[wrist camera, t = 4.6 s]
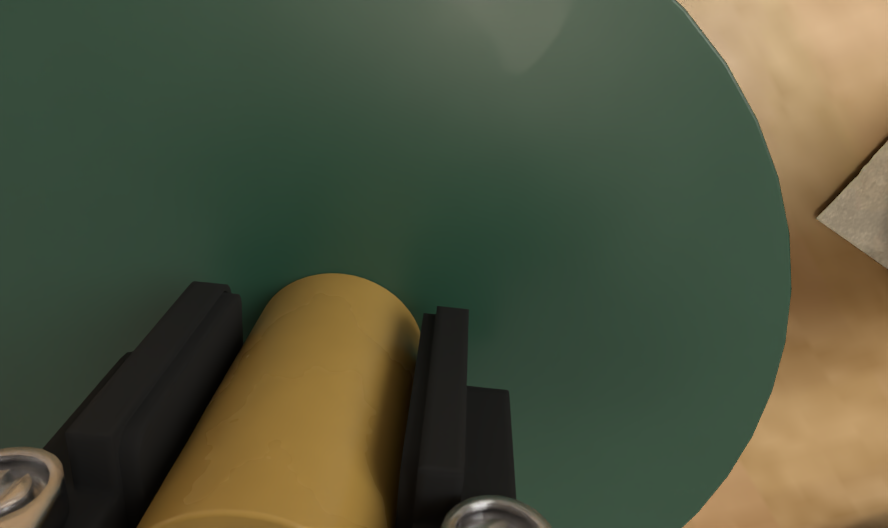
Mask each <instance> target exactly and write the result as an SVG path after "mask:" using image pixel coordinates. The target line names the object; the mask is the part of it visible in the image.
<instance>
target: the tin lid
mask: <svg viewBox="0 0 888 528" xmlns="http://www.w3.org/2000/svg"><path fill="white" fill-rule="evenodd" d="M193 281H199V282H209V283H218V284H228V285H229V287H230V289H231V293H233V294H239V295H240V297H241V301H242V324H243V346H242V348H241V349H240V351H239V353H238V355H237V356H236V358H235V360H234V361H233V363H232V365H231V366H230V368H229V370H228V372H227V373H226V375H225V377H224V378H223V380H222V382H221V384H220V385H219V387H218V389H217V390H216V392H215V394H214V396H213V397H212V399H211V401H210V402H209V404H208V406H207V407H206V409H205V411H204V413H203V414H202V416H201V418H200V419H199V421H198V423H197V425H196V426H195V428H194V430H193V431H192V433H191V435H190V437H189V438H188V440H187V442H186V443H185V445H184V447H183V448H182V450H181V452H180V454H179V455H178V457H177V459H176V460H175V462H174V464H173V466H172V467H171V469H170V471H169V472H168V474H167V476H166V478H165V479H164V481H163V483H162V484H161V486H160V488H159V489H158V491H157V493H156V495H155V496H154V498H153V500H152V501H151V503H150V505H149V507H148V508H147V510H146V512H145V513H144V515H143V517H142V519H141V520H140V522H139V524H138V525H137V527H136V528H395V524H396V512H397V500H398V488H399V477H400V468H401V460H402V452H403V445H404V439H405V432H406V426H407V419H408V412H409V406H410V399H411V392H412V386H413V379H414V373H415V366H416V359H417V353H418V346H419V339H420V333H421V326H422V320H423V313H429V314H436V311H437V306H443V307H453V308H463V309H469V325H468V361H467V386H475V387H485V388H494V389H504V390H508V391H509V396H510V410H511V425H512V440H513V455H514V470H515V485H516V500H519V501H522V502H523V503H525V504H527V505H529V506H531V507H532V508H534V509H536V510H537V511H538V512H539V513H540V514H541V515H542V516H543V517H544V518H545V519H546V520H548V522H549V524H550V525H551V527H552V528H682V527H683V526H684V525H685V524H686V523H687V522H688V521H689V520H691V519H692V518H693V517H694V516H695V515H696V514H697V513H698V512H699V511H700V509H701V508H702V507H703V506H704V505H705V503H706V502H707V501H708V500H709V498H710V497H711V496H712V495H713V494H714V492H715V491H716V490H717V489H718V487H719V486H720V485H721V484H722V482H723V481H724V480H725V479H726V478H727V476H728V475H729V473H730V472H731V470H732V468H733V467H734V465H735V463H736V462H737V460H738V459H739V457H740V455H741V454H742V452H743V450H744V449H745V447H746V446H747V444H748V442H749V441H750V439H751V437H752V436H753V433H754V431H755V429H756V427H757V424H758V422H759V420H760V417H761V415H762V413H763V411H764V408H765V406H766V404H767V401H768V399H769V397H770V394H771V392H772V389H773V386H774V382H775V378H776V375H777V371H778V367H779V363H780V360H781V356H782V352H783V349H784V345H785V340H786V332H787V323H788V314H789V306H790V297H791V265H790V239H789V230H788V225H787V219H786V214H785V209H784V204H783V199H782V194H781V189H780V184H779V178H778V175H777V172H776V169H775V167H774V164H773V161H772V158H771V156H770V153H769V150H768V147H767V145H766V142H765V139H764V136H763V134H762V131H761V128H760V125H759V123H758V120H757V118H756V116H755V114H754V112H753V111H752V109H751V107H750V105H749V103H748V101H747V100H746V98H745V96H744V94H743V92H742V90H741V89H740V87H739V85H738V83H737V81H736V79H735V78H734V76H733V74H732V72H731V70H730V69H729V67H728V65H727V63H726V62H725V60H724V59H723V58H722V56H721V55H720V54H719V53H718V51H717V50H716V49H715V47H714V46H713V45H712V43H711V42H710V41H709V39H708V38H707V37H706V36H705V34H704V33H703V32H702V30H701V29H700V28H699V26H698V25H697V24H696V22H695V21H694V20H693V19H692V17H691V16H690V15H689V13H688V12H687V11H686V9H685V8H684V7H683V6H682V5H681V4H679V3H678V2H677V1H676V0H0V449H4V448H12V447H32V448H39V449H43V447H44V446H45V445H46V444H47V443H48V442H49V440H50V439H51V438H52V437H53V436H54V435H55V433H56V432H57V431H58V430H59V429H60V428H61V427H62V425H63V424H64V423H65V422H66V421H67V420H68V418H69V417H70V416H71V415H72V414H73V413H74V411H75V410H76V409H77V408H78V407H79V406H80V404H81V403H82V402H83V401H84V400H85V399H86V397H87V396H88V395H89V394H90V393H91V392H92V391H93V389H94V388H95V387H96V386H97V385H98V384H99V382H100V381H101V380H102V379H103V378H104V377H105V375H106V374H107V373H108V372H109V371H110V370H111V368H112V367H113V366H114V365H115V364H116V363H117V362H118V360H119V359H120V358H121V357H122V356H123V355H125V354H126V353H127V352H132V351H134V350H135V349H136V347H137V346H138V345H139V344H140V343H141V342H142V340H143V339H144V338H145V337H146V336H147V334H148V333H149V332H150V331H151V330H152V329H153V327H154V326H155V325H156V324H157V323H158V321H159V320H160V319H161V318H162V317H163V315H164V314H165V313H166V312H167V311H168V310H169V308H170V307H171V306H172V305H173V304H174V302H175V301H176V300H177V299H178V298H179V297H180V295H181V294H182V293H183V292H184V291H185V289H186V288H187V287H188V286H189V285H190V284H191V283H192V282H193Z"/></svg>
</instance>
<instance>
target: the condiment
mask: <svg viewBox="0 0 888 528" xmlns="http://www.w3.org/2000/svg"><path fill="white" fill-rule="evenodd" d="M816 219H817V220H819V221H820V222H822V223H823V224H824V225H826V226H827V227H829V228H830V229H831V230H833V231H834V232H836V233H837V234H839V235H840V236H841V237H843V238H844V239H846V240H847V241H849V242H850V243H851V244H853V245H854V246H856V247H857V248H859V249H860V250H861V251H863V252H864V253H866V254H867V255H868V256H870V257H871V258H873V259H874V260H876V261H877V262H878V263H880V264H881V265H883V266H884V267H886V268H887V269H888V141H887V142H886V143H885V144H884V145H883V146H882V147H881V148H880V149H879V150H878V152H877V153H876V154H875V155H874V156H873V157H872V159H871V160H870V161H869V162H868V163H867V164H866V165H865V166H864V167H863V168H862V170H861V172H860V174H859V175H858V176H857V177H856V178H855V179H854V180H853V181H851V182H850V184H849V185H848V186H847V187H846V188H845V189H844V190H843V191H842V192H841V193H840V194H839V195H838V196H837V197H836V199H835V200H834V201H833V202H832V203H831V204H830V205H829V206H828V207H827V208H826V209H825V210H824V211H823V212H822V213H821V214H820V215H819V216H818V217H817V218H816Z"/></svg>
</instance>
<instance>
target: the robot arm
mask: <svg viewBox="0 0 888 528" xmlns="http://www.w3.org/2000/svg"><path fill="white" fill-rule="evenodd" d="M468 325H469V309H463V308H453V307H443V306H437V311H436V314H429V313H423V320H422V326H421V333H420V339H419V346H418V353H417V359H416V366H415V373H414V379H413V386H412V392H411V399H410V406H409V412H408V419H407V426H406V432H405V439H404V445H403V452H402V460H401V468H400V477H399V488H398V500H397V512H396V524H395V528H552V527H551V525H550V524H549V522H548V520H546V519H545V518H544V517H543V516H542V515H541V514H540V513H539V512H538V511H537V510H536V509H534V508H532V507H531V506H529V505H527V504H525V503H523V502H522V501H519V500H516V485H515V470H514V455H513V440H512V425H511V410H510V396H509V391H508V390H504V389H494V388H485V387H475V386H467V361H468ZM242 346H243V324H242V301H241V297H240V295H239V294H233V293H231V289H230V287H229V285H228V284H218V283H209V282H199V281H193V282H192V283H191V284H190V285H189V286H188V287H187V288H186V289H185V291H184V292H183V293H182V294H181V295H180V297H179V298H178V299H177V300H176V301H175V302H174V304H173V305H172V306H171V307H170V308H169V310H168V311H167V312H166V313H165V314H164V315H163V317H162V318H161V319H160V320H159V321H158V323H157V324H156V325H155V326H154V327H153V329H152V330H151V331H150V332H149V333H148V334H147V336H146V337H145V338H144V339H143V340H142V342H141V343H140V344H139V345H138V346H137V347H136V349H135V350H134V351H132V352H127V353H126V354H125V355H123V356H122V357H121V358H120V359H119V360H118V362H117V363H116V364H115V365H114V366H113V367H112V368H111V370H110V371H109V372H108V373H107V374H106V375H105V377H104V378H103V379H102V380H101V381H100V382H99V384H98V385H97V386H96V387H95V388H94V389H93V391H92V392H91V393H90V394H89V395H88V396H87V397H86V399H85V400H84V401H83V402H82V403H81V404H80V406H79V407H78V408H77V409H76V410H75V411H74V413H73V414H72V415H71V416H70V417H69V418H68V420H67V421H66V422H65V423H64V424H63V425H62V427H61V428H60V429H59V430H58V431H57V432H56V433H55V435H54V436H53V437H52V438H51V439H50V440H49V442H48V443H47V444H46V445H45V446H44V447H43V449H39V448H32V447H12V448H4V449H0V528H136V527H137V525H138V524H139V522H140V520H141V519H142V517H143V515H144V513H145V512H146V510H147V508H148V507H149V505H150V503H151V501H152V500H153V498H154V496H155V495H156V493H157V491H158V489H159V488H160V486H161V484H162V483H163V481H164V479H165V478H166V476H167V474H168V472H169V471H170V469H171V467H172V466H173V464H174V462H175V460H176V459H177V457H178V455H179V454H180V452H181V450H182V448H183V447H184V445H185V443H186V442H187V440H188V438H189V437H190V435H191V433H192V431H193V430H194V428H195V426H196V425H197V423H198V421H199V419H200V418H201V416H202V414H203V413H204V411H205V409H206V407H207V406H208V404H209V402H210V401H211V399H212V397H213V396H214V394H215V392H216V390H217V389H218V387H219V385H220V384H221V382H222V380H223V378H224V377H225V375H226V373H227V372H228V370H229V368H230V366H231V365H232V363H233V361H234V360H235V358H236V356H237V355H238V353H239V351H240V349H241V348H242Z"/></svg>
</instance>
